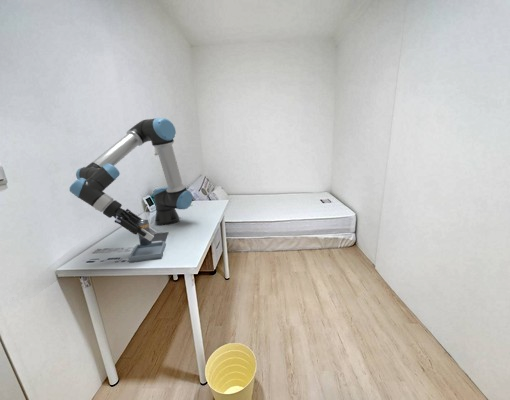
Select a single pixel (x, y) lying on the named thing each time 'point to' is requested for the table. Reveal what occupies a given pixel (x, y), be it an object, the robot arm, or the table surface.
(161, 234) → the dark grey pad
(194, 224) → the table surface
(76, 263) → the table surface
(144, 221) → the battery cell
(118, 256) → the table surface
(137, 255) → the tray
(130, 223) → the robot arm
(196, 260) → the table surface
